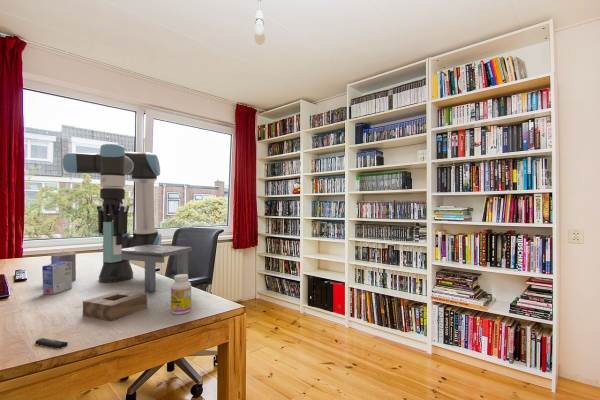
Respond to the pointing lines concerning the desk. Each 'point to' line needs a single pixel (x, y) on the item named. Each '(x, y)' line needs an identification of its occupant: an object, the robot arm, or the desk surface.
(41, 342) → the usb stick
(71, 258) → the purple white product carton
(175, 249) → the grey step stool
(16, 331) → the desk surface
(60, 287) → the ink cartridge box
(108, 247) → the peg
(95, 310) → the socket block
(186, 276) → the supplement bottle
